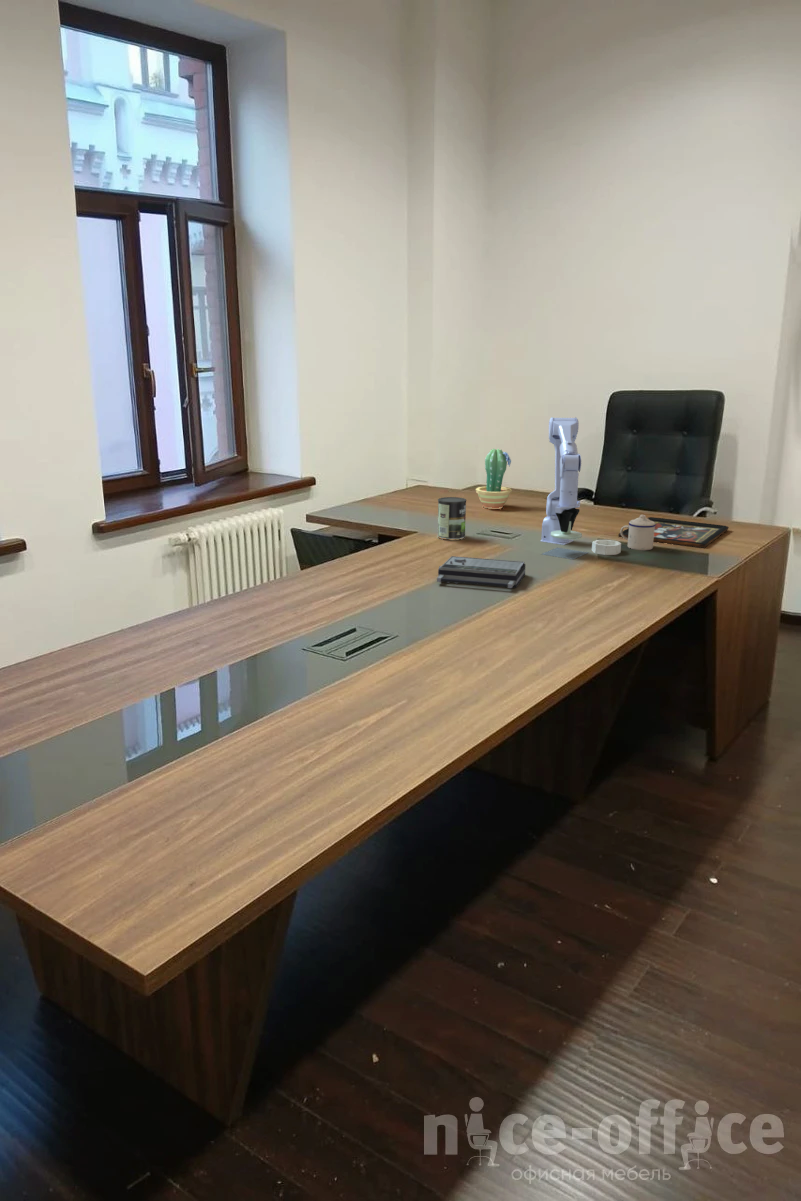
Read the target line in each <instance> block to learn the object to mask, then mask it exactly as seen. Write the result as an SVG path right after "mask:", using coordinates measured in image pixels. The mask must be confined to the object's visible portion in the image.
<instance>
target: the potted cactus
mask: <svg viewBox="0 0 801 1201" xmlns="http://www.w3.org/2000/svg"><path fill="white" fill-rule="evenodd" d="M511 463H512V459H511V457H510V456H509V453H508V452H507V451H506V452H505V451H503V450H502V449H500V448H497V449H496V448H493V449H490V451H489V452H488V453H487V454H486V456H485V458H484V468H485V472H486V483H485V485H486V486H478V487H476V488H475V492H476V494H477V496H478V498H479V501H480V502H481V504H482V507H483V506H485V507H492V508H499V507H503V506H505V504H506V503H507V501H508V499H509V496H510V495H511V494H512V492H513V490H512V489H511V488H510V487H505V486H503V479H504V475H505V474H506V473H505V472H506V471H507V467H510V466H511ZM507 465H508V466H507Z"/></svg>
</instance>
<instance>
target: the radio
mask: <svg viewBox="0 0 801 1201" xmlns="http://www.w3.org/2000/svg"><path fill="white" fill-rule="evenodd" d="M525 576H526V563H525V561H519V560H517V561H516V560H505V559H494V558H493V559H492V558H490V559H489V558H479V557H468V556H466V557H465V556H456V555H455V556H454V555H452V556H450V557H449V558H448V559H447V560H446V561H445V562H444V563H443V564H442V565H439V567H438V571H437V578H436V583H442V582H444V583H447V584H449V583H454V584H457V585H458V584H466V585H467V584H468V585H478V586H489V587H499V588H501V587H502V588H508V589H517V588H518V586H519V585H520V583H521V582H522V580H523V579H524V577H525Z"/></svg>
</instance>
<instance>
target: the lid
mask: <svg viewBox="0 0 801 1201" xmlns="http://www.w3.org/2000/svg"><path fill="white" fill-rule="evenodd" d="M551 536H552V537H555V538H560V539H569V540H577V539H581V538H582V537H583V533H581V532H580V531H575V530H571V521H570V522H569V527H568V531H567V532H561V530H558V531H552V532H551Z"/></svg>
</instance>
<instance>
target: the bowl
mask: <svg viewBox="0 0 801 1201" xmlns="http://www.w3.org/2000/svg"><path fill="white" fill-rule="evenodd" d="M591 543H592V544H591V552H593V553H594V554H597V555H603V556H613V555H614V556H616V555H619V554H621V551H622V542H620V541H618V540H613V539H596V540H593V541H592V542H591Z"/></svg>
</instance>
